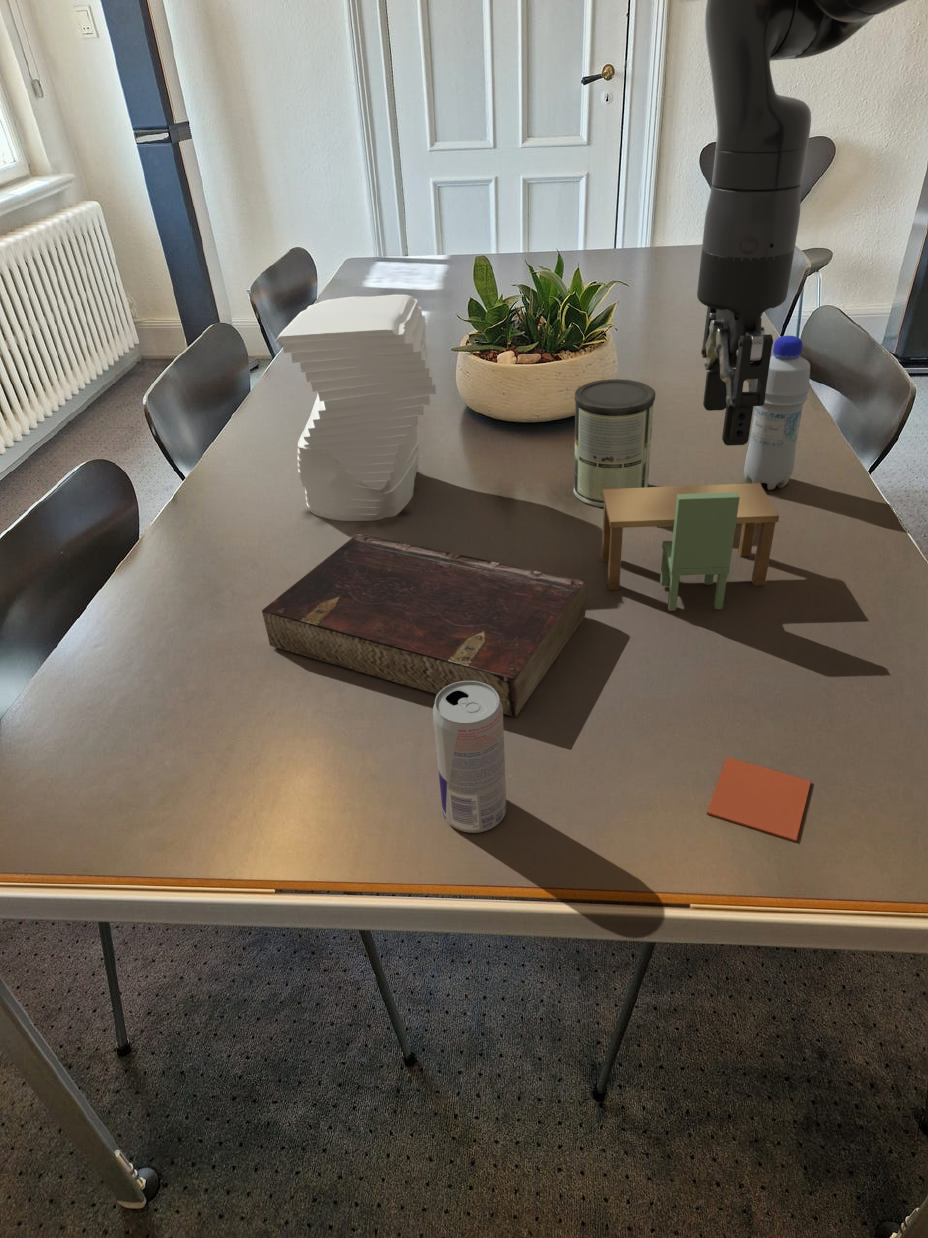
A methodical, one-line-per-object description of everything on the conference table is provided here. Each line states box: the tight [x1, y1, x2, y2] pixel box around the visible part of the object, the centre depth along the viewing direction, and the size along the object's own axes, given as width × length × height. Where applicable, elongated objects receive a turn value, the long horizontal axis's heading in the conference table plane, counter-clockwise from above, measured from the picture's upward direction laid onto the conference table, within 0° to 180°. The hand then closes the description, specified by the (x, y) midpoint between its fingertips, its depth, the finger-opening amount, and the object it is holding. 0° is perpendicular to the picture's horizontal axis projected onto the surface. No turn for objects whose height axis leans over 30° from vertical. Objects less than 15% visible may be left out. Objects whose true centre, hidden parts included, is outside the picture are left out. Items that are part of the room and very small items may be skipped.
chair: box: [659, 492, 740, 612], centre depth 91 cm, size 6×6×14 cm
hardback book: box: [261, 532, 588, 718], centre depth 91 cm, size 29×19×5 cm, turn 63°
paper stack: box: [274, 293, 437, 522], centre depth 115 cm, size 21×27×26 cm
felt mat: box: [706, 756, 812, 842], centre depth 70 cm, size 7×7×1 cm
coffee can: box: [573, 378, 656, 508], centre depth 114 cm, size 10×10×14 cm
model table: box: [601, 483, 780, 591], centre depth 97 cm, size 18×8×9 cm, turn 89°
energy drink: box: [432, 681, 507, 834], centre depth 68 cm, size 5×5×12 cm
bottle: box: [743, 335, 811, 491], centre depth 111 cm, size 7×7×20 cm
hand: (724, 425), depth 81 cm, fingers open, 8 cm apart
